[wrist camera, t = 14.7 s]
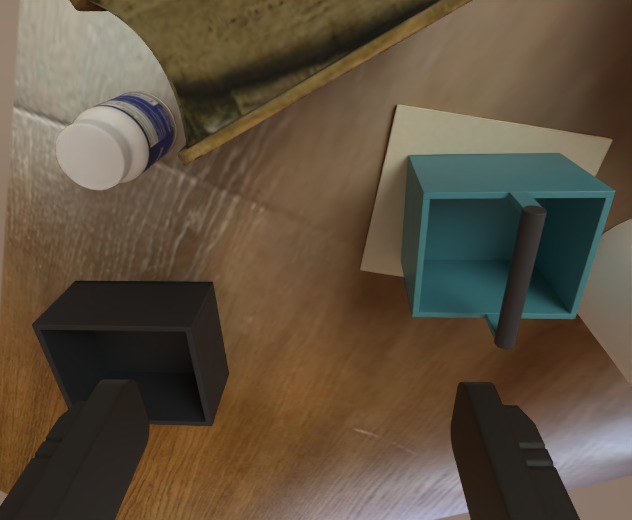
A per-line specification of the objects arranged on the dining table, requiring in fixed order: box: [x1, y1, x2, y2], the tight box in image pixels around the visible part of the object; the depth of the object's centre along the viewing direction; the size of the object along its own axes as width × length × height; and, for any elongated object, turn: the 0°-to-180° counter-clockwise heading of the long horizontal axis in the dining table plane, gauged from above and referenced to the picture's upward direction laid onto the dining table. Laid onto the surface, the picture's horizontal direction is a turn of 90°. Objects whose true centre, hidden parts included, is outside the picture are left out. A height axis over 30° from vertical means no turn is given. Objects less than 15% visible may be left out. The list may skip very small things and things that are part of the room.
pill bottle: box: [55, 91, 176, 190], centre depth 34 cm, size 6×6×10 cm
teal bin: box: [401, 153, 615, 349], centre depth 35 cm, size 13×11×13 cm
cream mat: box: [360, 104, 613, 277], centre depth 41 cm, size 18×16×1 cm
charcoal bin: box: [32, 281, 229, 426], centre depth 47 cm, size 15×13×8 cm
